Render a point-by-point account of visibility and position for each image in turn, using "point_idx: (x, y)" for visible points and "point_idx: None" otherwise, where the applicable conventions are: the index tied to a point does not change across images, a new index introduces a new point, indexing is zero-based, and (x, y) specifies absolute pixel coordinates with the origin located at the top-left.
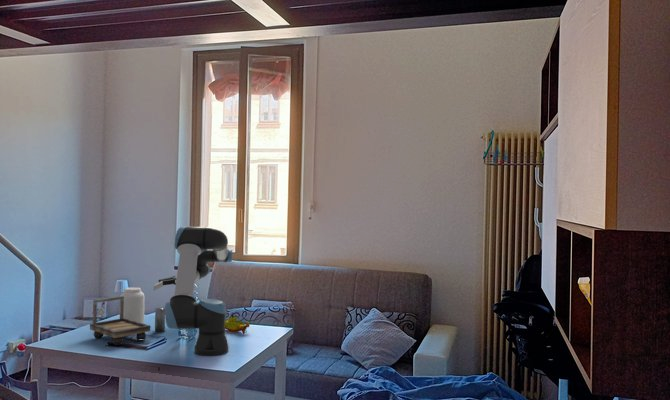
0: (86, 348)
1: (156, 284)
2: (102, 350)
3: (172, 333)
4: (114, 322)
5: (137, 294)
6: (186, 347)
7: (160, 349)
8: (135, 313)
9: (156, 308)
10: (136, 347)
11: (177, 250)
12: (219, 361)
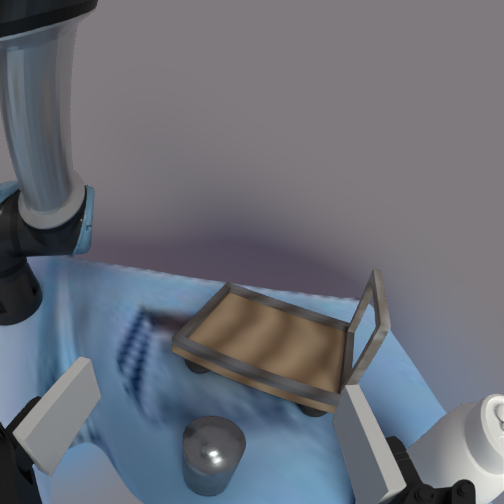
0: None
1: (359, 407)
2: None
3: (136, 458)
4: (340, 374)
5: (452, 440)
6: (57, 323)
7: (113, 312)
8: None
9: (236, 433)
10: (175, 320)
11: (93, 11)
12: None
